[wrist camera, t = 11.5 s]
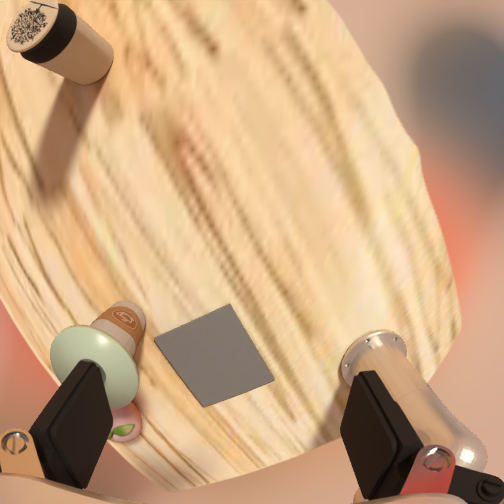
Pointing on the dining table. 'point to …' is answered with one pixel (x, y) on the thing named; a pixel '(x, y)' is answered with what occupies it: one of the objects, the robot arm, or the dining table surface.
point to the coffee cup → (123, 324)
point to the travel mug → (59, 41)
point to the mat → (215, 356)
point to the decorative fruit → (125, 423)
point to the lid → (97, 361)
